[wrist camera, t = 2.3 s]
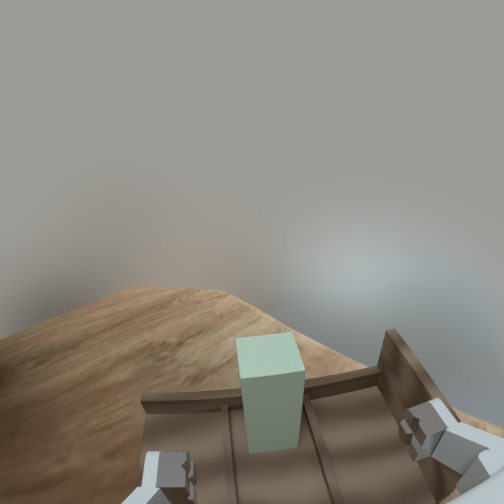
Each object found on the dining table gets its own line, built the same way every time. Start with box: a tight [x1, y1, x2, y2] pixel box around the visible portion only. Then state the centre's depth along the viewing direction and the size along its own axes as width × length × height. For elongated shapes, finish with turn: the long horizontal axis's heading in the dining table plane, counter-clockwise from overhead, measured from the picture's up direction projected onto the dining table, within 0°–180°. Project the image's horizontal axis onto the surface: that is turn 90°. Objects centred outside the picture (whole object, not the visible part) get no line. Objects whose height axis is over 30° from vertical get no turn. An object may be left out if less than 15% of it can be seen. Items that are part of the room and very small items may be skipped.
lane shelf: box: [137, 329, 463, 504], centre depth 25 cm, size 19×29×10 cm, turn 96°
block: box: [236, 332, 305, 454], centre depth 28 cm, size 5×5×12 cm
